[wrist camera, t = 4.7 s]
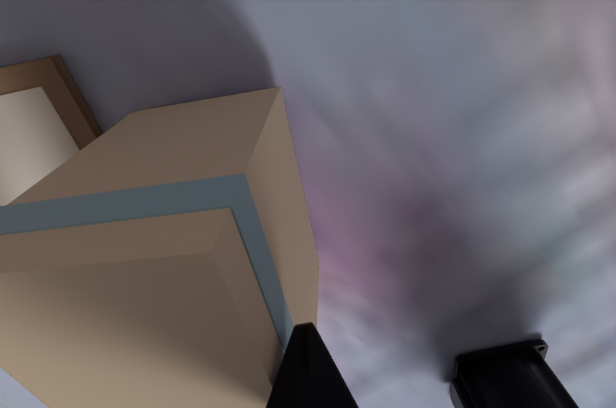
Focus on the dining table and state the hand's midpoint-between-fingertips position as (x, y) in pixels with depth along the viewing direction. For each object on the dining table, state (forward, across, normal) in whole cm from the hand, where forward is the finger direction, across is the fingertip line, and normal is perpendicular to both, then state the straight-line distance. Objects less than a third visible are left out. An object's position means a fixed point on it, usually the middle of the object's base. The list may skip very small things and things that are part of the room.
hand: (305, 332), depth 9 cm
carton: (+8, +2, 0) cm, 8 cm away
